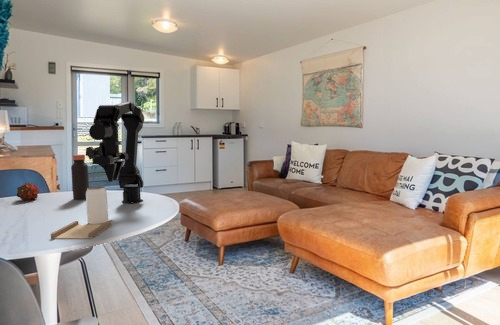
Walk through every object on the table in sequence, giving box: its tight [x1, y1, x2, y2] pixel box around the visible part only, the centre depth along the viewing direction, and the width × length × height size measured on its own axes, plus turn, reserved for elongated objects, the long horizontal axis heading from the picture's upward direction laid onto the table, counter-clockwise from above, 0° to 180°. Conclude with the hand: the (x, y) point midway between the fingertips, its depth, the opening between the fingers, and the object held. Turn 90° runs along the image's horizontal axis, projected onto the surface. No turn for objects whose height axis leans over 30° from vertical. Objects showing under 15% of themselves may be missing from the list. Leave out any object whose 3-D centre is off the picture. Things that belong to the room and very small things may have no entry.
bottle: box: [70, 154, 90, 201], centre depth 162 cm, size 7×7×20 cm
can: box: [85, 185, 109, 224], centre depth 120 cm, size 6×6×12 cm
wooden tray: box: [50, 220, 113, 240], centre depth 111 cm, size 14×12×2 cm
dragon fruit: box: [16, 182, 40, 202], centre depth 162 cm, size 8×8×12 cm
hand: (112, 180), depth 134 cm, fingers open, 4 cm apart
